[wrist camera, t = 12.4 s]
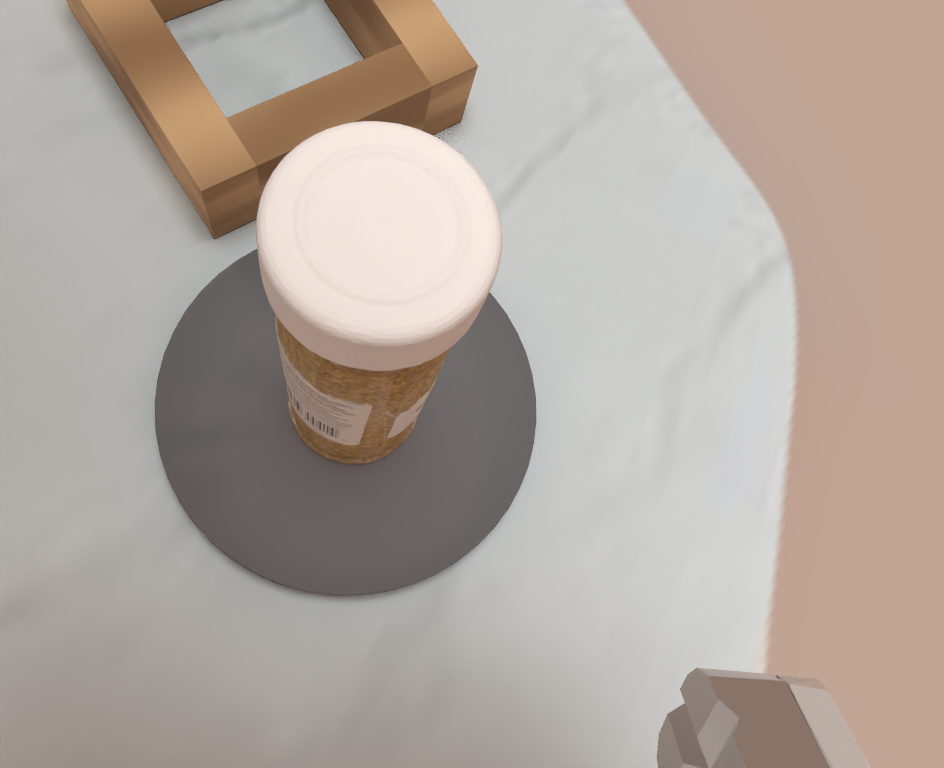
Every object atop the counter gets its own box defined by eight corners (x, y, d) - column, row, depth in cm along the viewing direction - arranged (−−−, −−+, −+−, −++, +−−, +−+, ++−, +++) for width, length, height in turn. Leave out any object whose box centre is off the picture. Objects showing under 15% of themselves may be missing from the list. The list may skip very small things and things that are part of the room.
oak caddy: (69, 7, 29) (38, -68, 26) (320, -83, 33) (320, -159, 29) (214, 238, 28) (201, 191, 25) (461, 121, 31) (477, 65, 28)
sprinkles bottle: (439, 435, 27) (548, 291, 14) (315, 487, 26) (312, 381, 13) (387, 319, 28) (446, 83, 15) (264, 364, 26) (213, 149, 14)
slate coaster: (89, 344, 26) (81, 335, 25) (408, 186, 30) (411, 173, 29) (285, 676, 25) (284, 679, 24) (595, 464, 29) (604, 460, 28)
